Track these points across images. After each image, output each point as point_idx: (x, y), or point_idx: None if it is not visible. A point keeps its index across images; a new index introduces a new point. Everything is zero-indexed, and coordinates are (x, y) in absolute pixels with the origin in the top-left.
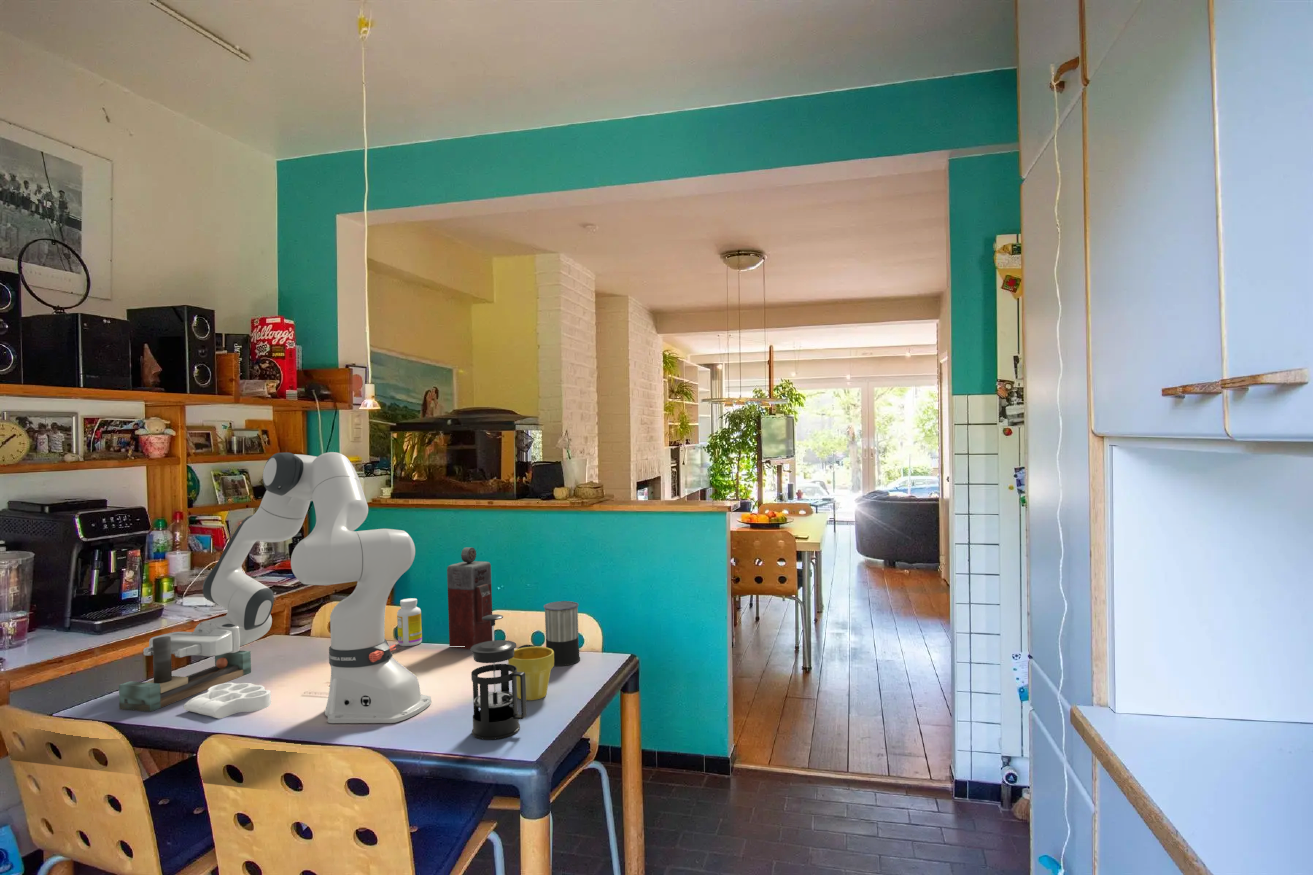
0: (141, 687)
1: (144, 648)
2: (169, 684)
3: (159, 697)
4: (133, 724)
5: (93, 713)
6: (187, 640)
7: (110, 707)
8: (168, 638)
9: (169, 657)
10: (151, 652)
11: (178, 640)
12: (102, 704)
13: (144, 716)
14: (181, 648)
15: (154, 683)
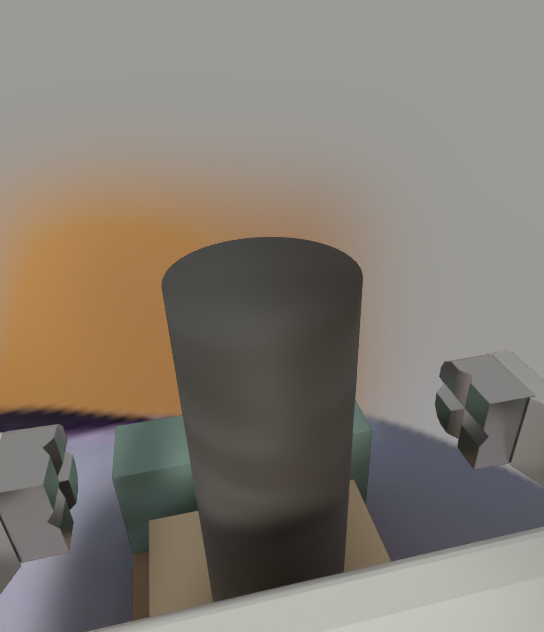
0: (180, 420)
1: (505, 352)
2: (149, 587)
3: (130, 534)
4: (75, 431)
5: (386, 423)
6: (144, 629)
7: (416, 478)
8: (165, 296)
9: (196, 488)
10: (460, 420)
11: (373, 571)
12: (511, 481)
13: (111, 485)
14: (20, 472)
15: (155, 467)
